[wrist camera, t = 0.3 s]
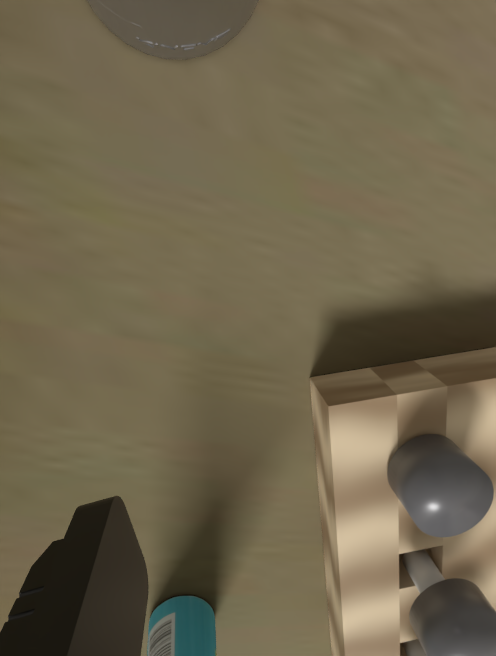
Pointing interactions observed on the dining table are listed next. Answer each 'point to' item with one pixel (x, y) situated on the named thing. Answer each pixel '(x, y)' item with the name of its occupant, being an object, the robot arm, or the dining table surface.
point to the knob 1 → (413, 648)
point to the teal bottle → (182, 628)
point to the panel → (380, 500)
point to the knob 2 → (439, 485)
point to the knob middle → (449, 612)
